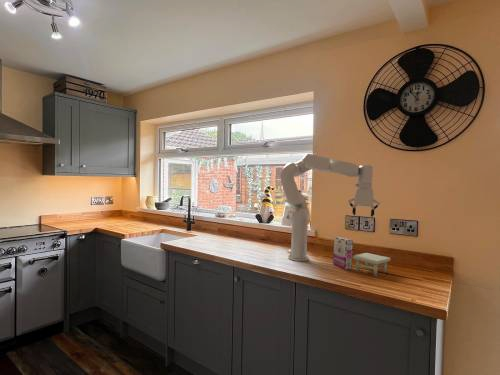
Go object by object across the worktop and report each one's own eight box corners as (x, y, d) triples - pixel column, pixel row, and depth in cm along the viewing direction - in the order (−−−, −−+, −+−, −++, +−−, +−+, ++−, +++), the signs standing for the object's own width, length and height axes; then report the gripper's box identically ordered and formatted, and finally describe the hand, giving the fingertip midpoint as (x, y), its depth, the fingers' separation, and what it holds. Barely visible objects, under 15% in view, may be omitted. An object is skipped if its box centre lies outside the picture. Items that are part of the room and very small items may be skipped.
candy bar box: (352, 269, 165) (353, 239, 165) (345, 270, 163) (346, 240, 163) (339, 264, 175) (340, 236, 175) (332, 264, 174) (333, 236, 173)
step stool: (352, 270, 163) (352, 255, 163) (365, 266, 172) (366, 252, 172) (376, 276, 152) (377, 261, 152) (389, 272, 161) (390, 257, 161)
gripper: (348, 185, 173) (346, 214, 174) (380, 187, 165) (378, 217, 165) (350, 185, 180) (348, 213, 180) (381, 187, 172) (379, 216, 172)
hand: (363, 215), depth 173 cm, fingers open, 9 cm apart
